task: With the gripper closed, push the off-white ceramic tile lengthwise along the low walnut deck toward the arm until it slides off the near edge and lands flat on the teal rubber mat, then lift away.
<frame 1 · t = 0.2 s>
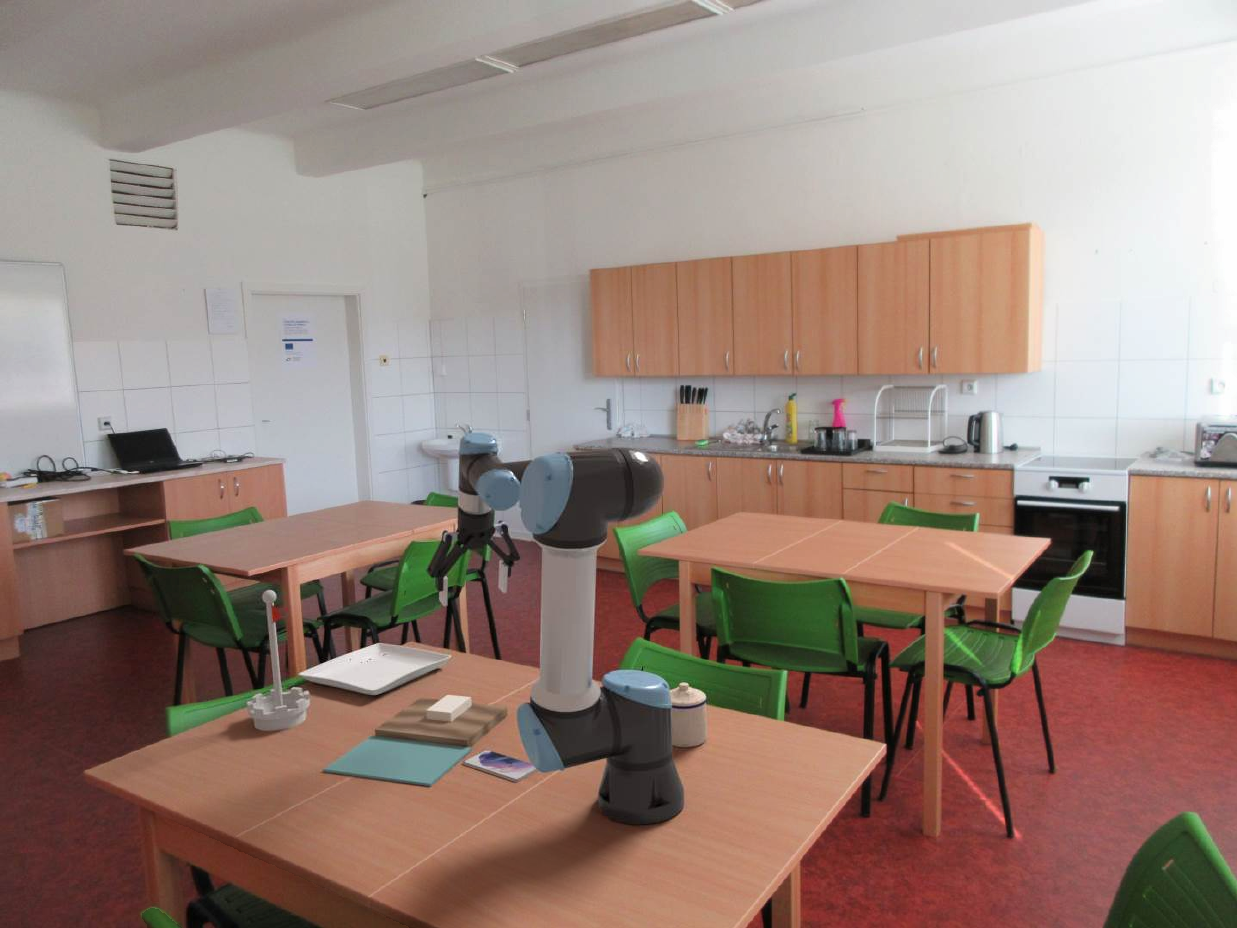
hand: (473, 596, 197), 28 cm above the table, tool tilted 15°, fingers open, 13 cm apart
flag stand: (280, 721, 206), on the table
square plate: (377, 678, 232), on the table
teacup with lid: (679, 738, 188), on the table
teal mat: (399, 760, 183), on the table
ceramic tile: (449, 712, 201), point 2 cm above the table, touching walnut deck
walnut deck: (443, 726, 199), on the table
smartphone: (501, 768, 179), on the table
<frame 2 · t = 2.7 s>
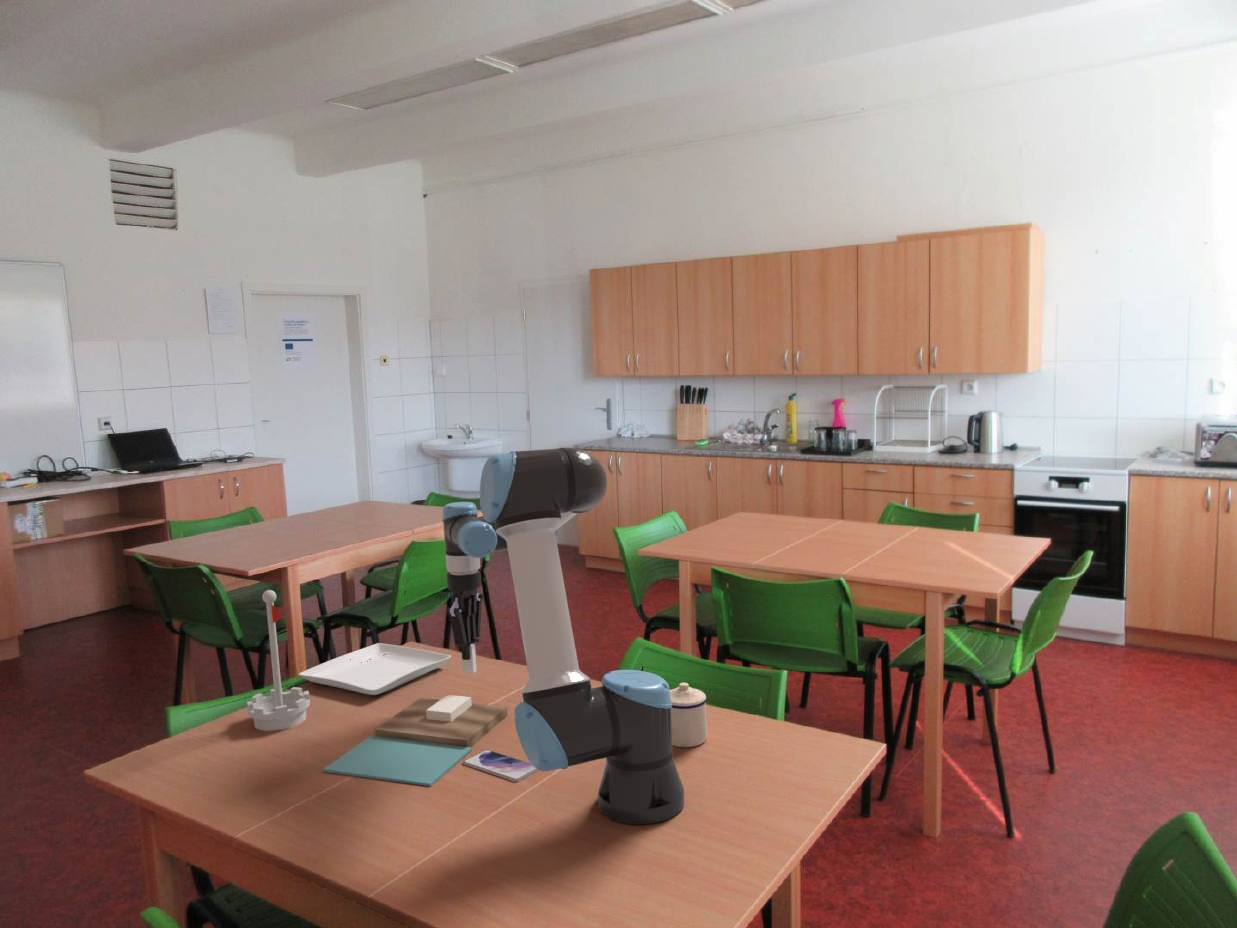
hand: (469, 671, 210), 8 cm above the table, tool pointing down, fingers closed
nothing on the table moved.
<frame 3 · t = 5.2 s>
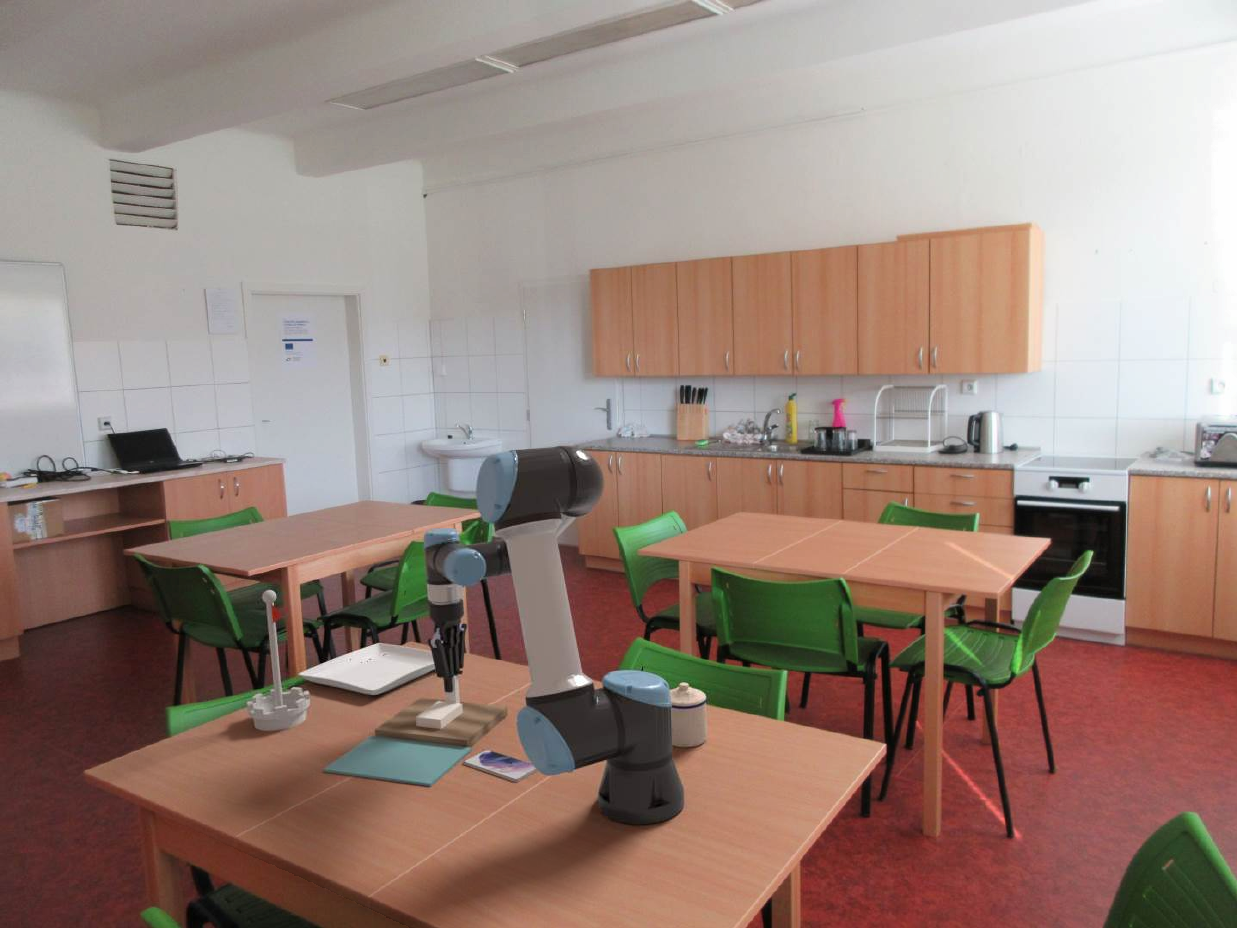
hand: (452, 704, 202), 3 cm above the table, tool pointing down, fingers closed
ceramic tile: (439, 719, 198), point 2 cm above the table, touching walnut deck
everything else where it was.
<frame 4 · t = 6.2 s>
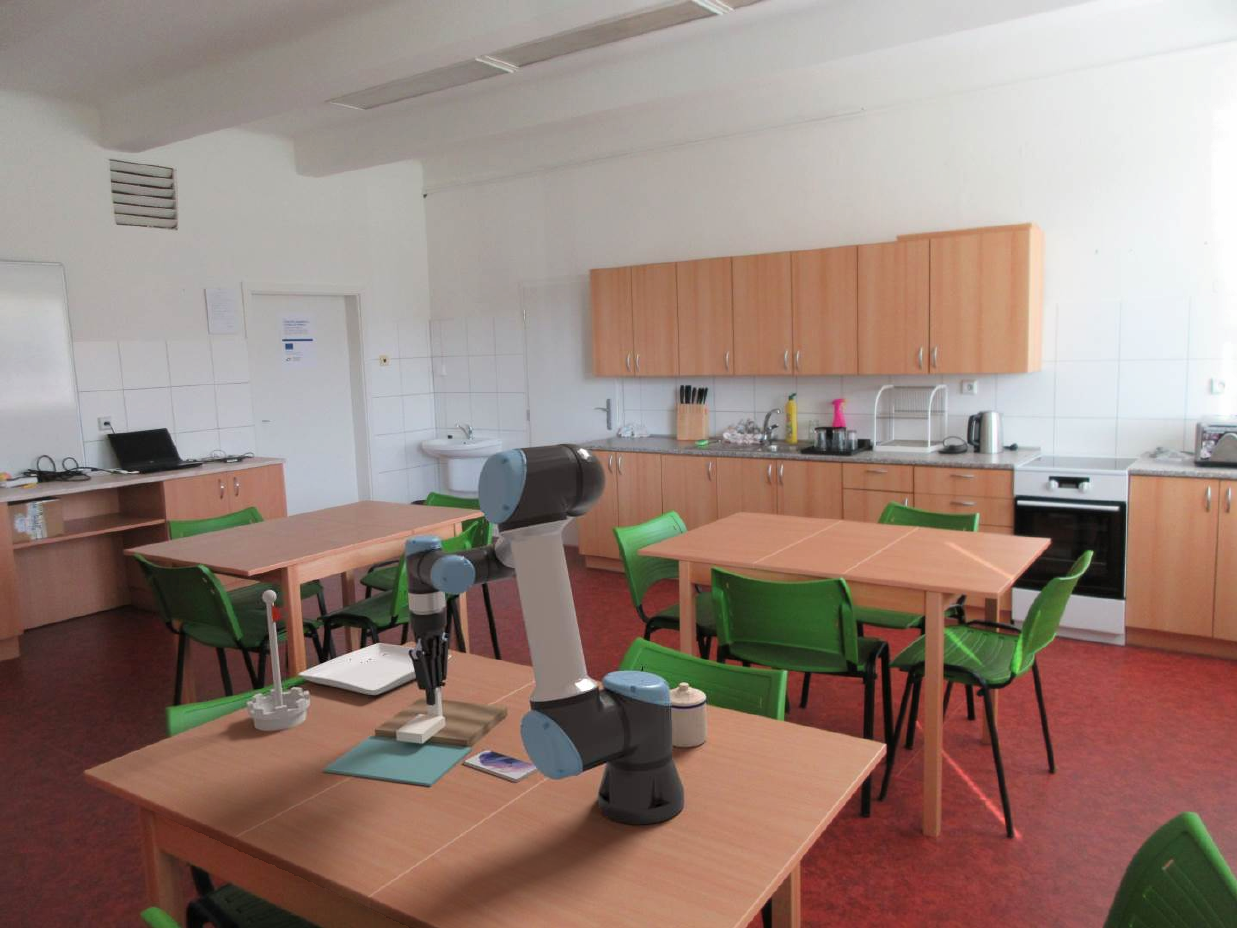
hand: (435, 717, 196), 3 cm above the table, tool pointing down, fingers closed
ceramic tile: (421, 732, 191), point 2 cm above the table, touching walnut deck
everything else where it was.
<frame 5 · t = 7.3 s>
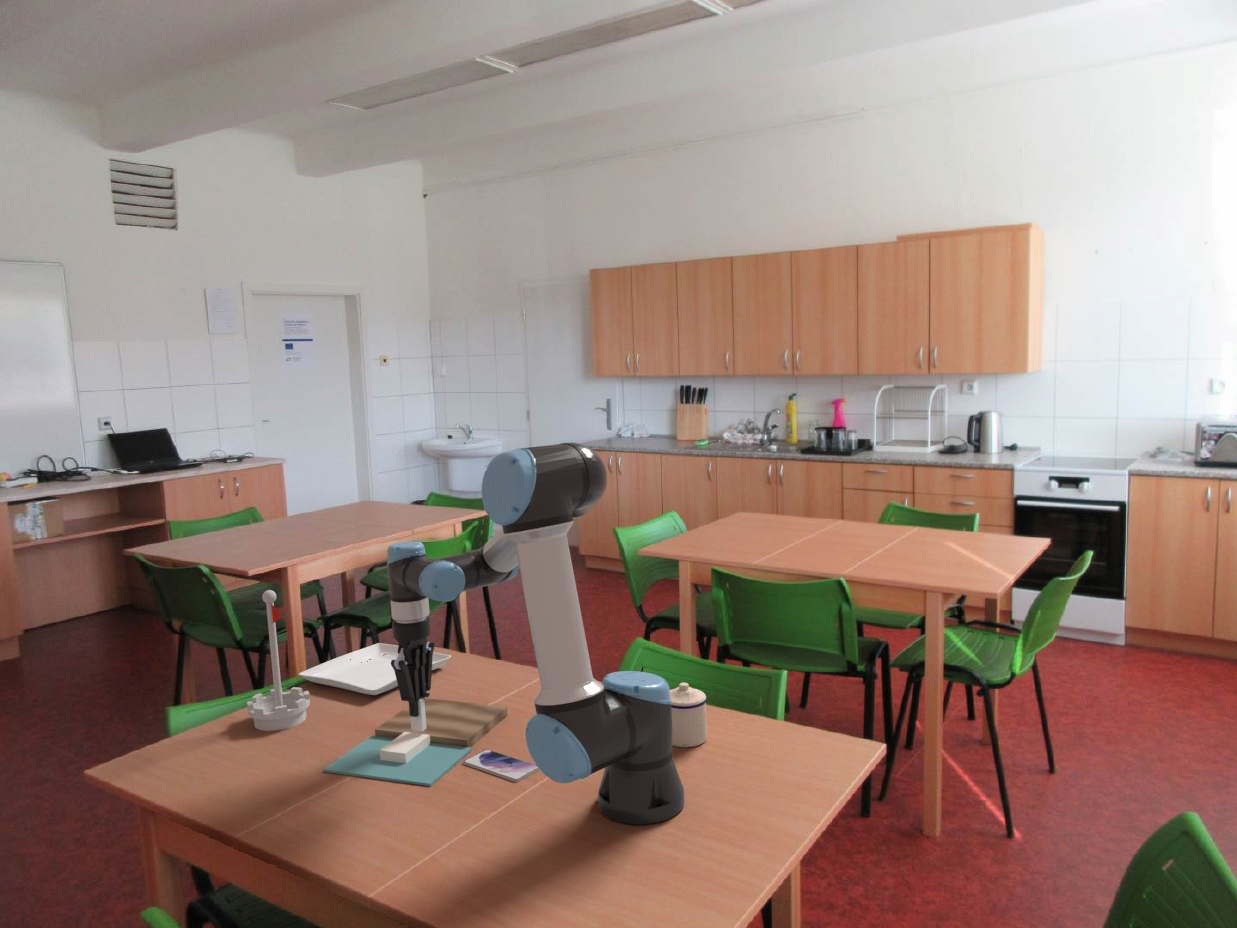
hand: (418, 728, 190), 3 cm above the table, tool pointing down, fingers closed
ceramic tile: (405, 751, 186), resting on teal mat
everything else where it was.
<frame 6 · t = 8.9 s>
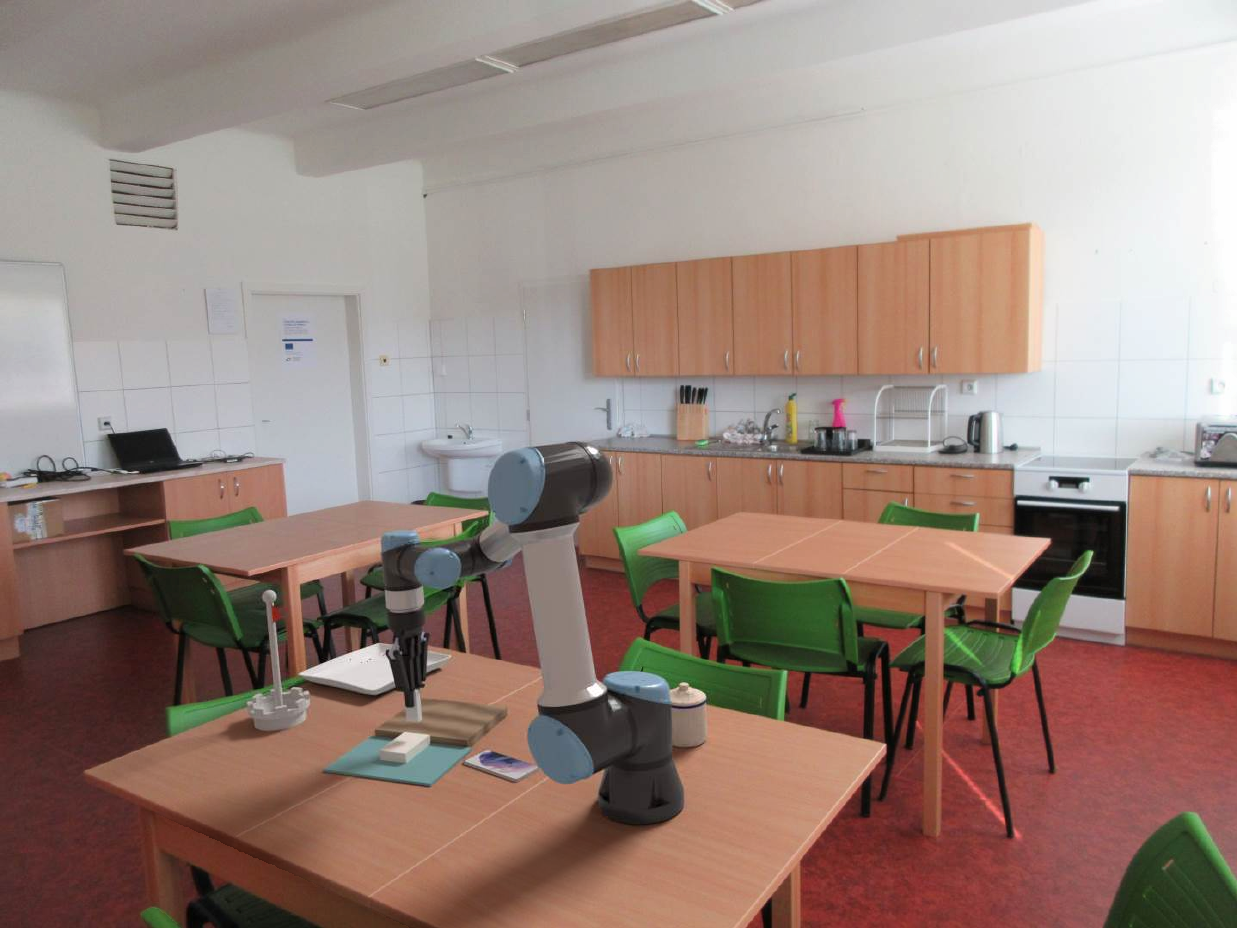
hand: (414, 720, 188), 6 cm above the table, tool pointing down, fingers closed
nothing on the table moved.
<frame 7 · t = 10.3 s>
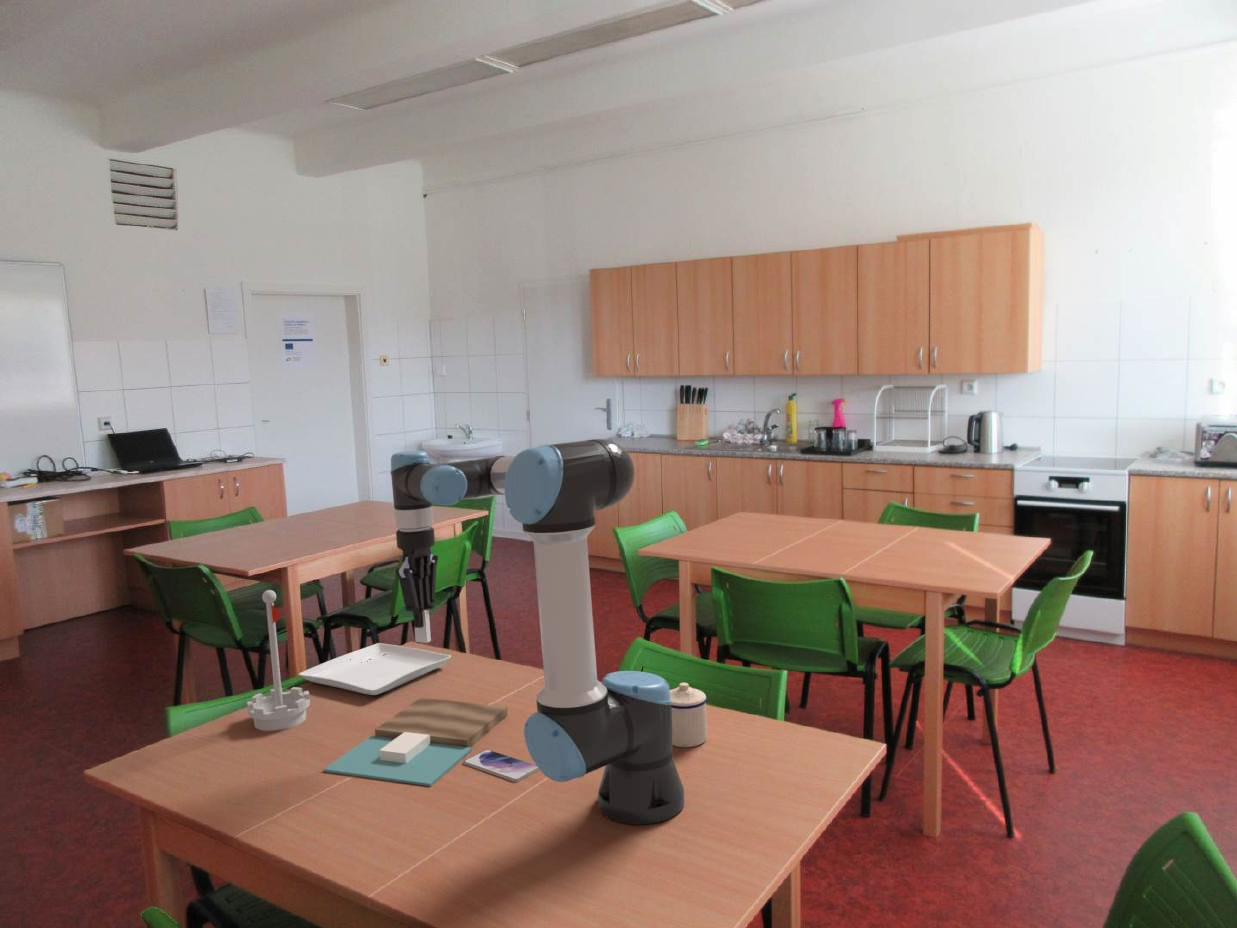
hand: (423, 641, 188), 22 cm above the table, tool pointing down, fingers closed
nothing on the table moved.
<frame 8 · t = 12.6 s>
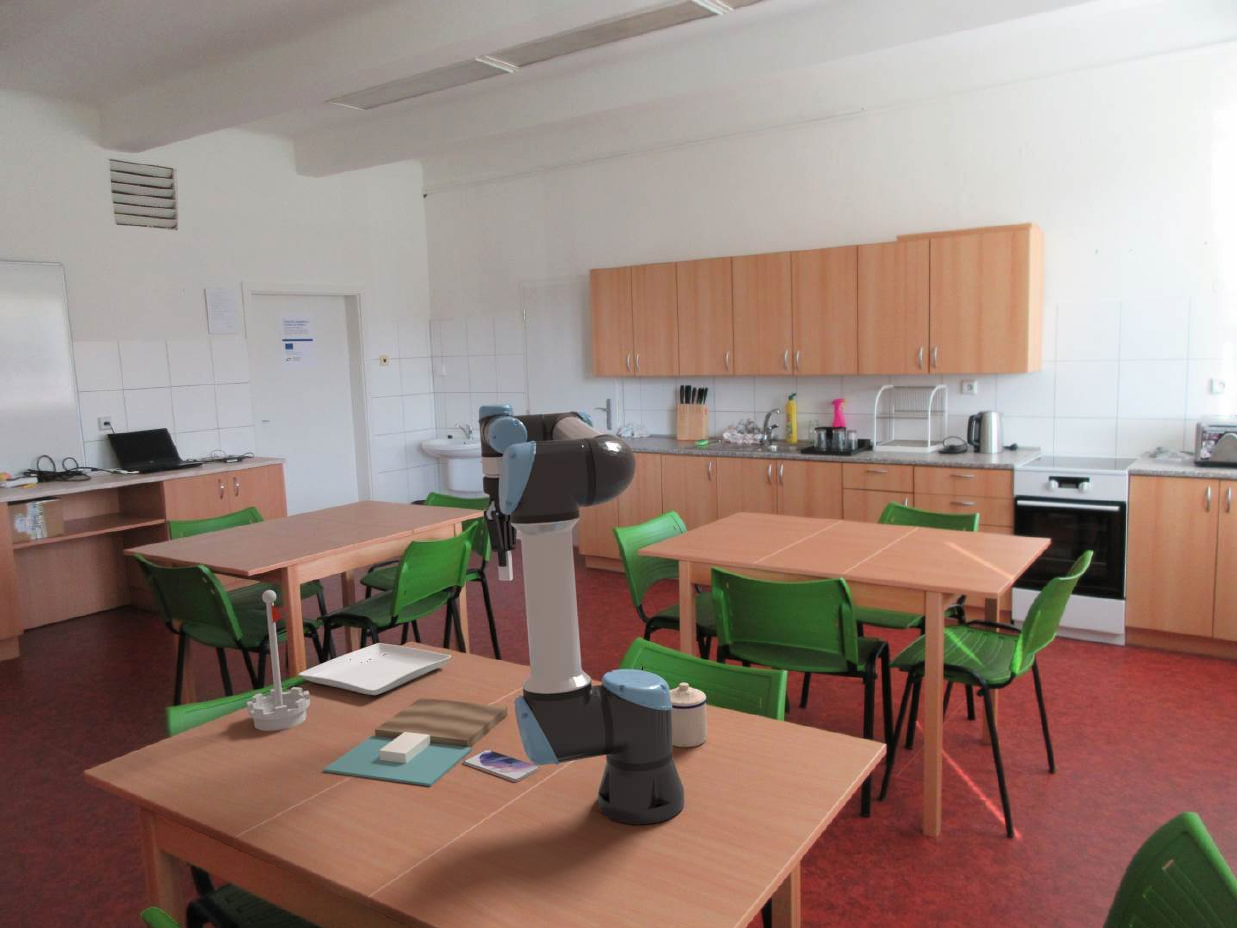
hand: (505, 579, 205), 29 cm above the table, tool pointing down, fingers closed
nothing on the table moved.
at the end: ceramic tile inside the target area (2.9 cm from its centre), point 0.5 cm above the table; ceramic tile tilted 0°; ceramic tile moved 17.2 cm from its start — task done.
